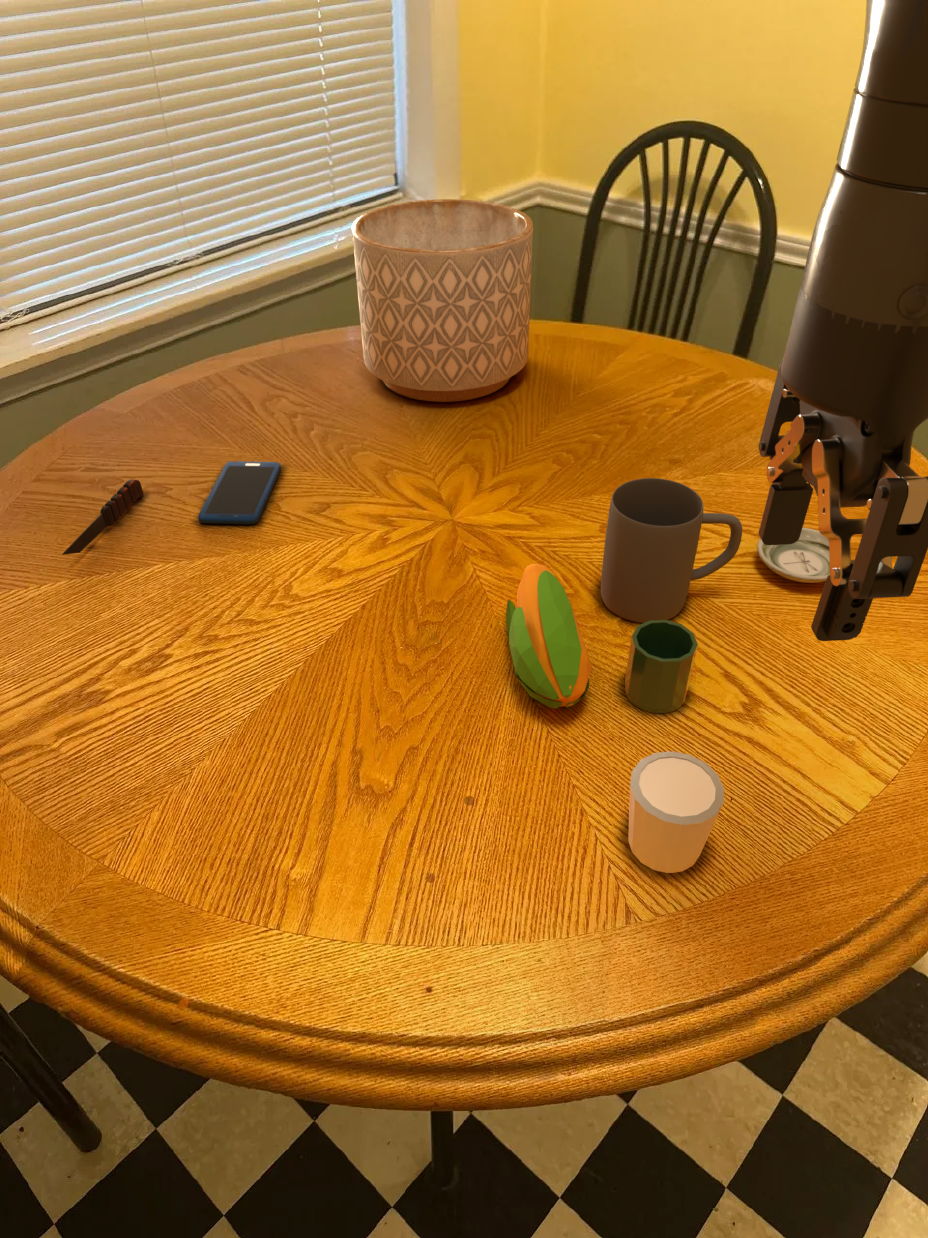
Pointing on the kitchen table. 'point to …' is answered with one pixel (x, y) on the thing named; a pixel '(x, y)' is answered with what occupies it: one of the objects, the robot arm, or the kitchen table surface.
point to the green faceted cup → (660, 665)
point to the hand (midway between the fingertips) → (802, 585)
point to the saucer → (799, 557)
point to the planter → (444, 296)
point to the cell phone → (240, 493)
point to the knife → (108, 514)
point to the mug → (656, 548)
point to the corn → (547, 640)
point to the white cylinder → (672, 810)
